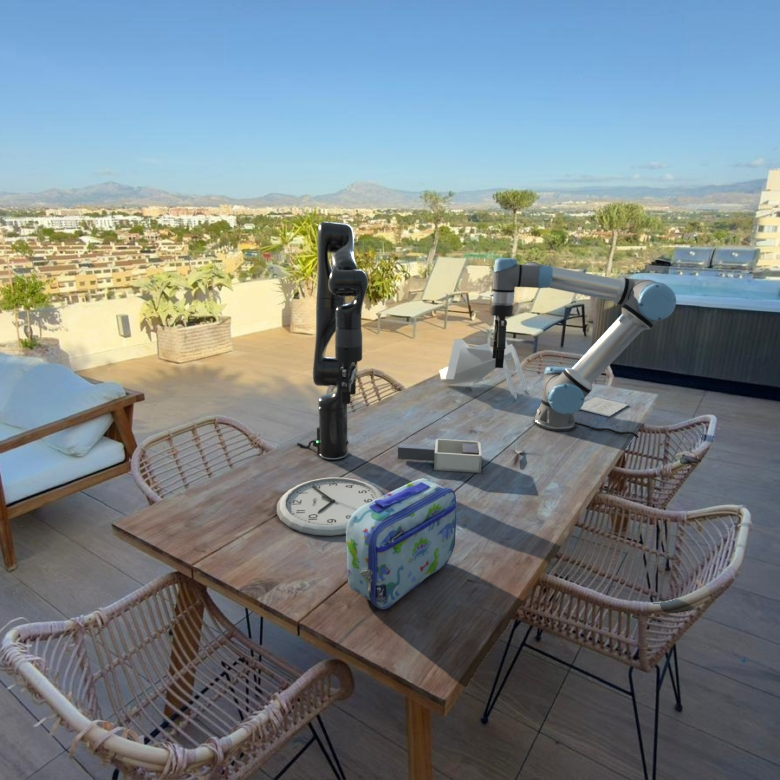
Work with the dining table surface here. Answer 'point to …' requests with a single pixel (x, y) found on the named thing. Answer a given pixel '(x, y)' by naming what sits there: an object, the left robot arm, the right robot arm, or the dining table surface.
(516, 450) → the fork
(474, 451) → the walnut block
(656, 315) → the right robot arm
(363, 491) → the wall clock
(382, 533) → the lunch box
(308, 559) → the dining table surface
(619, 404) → the invitation card
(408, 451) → the bin
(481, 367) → the white plastic object
